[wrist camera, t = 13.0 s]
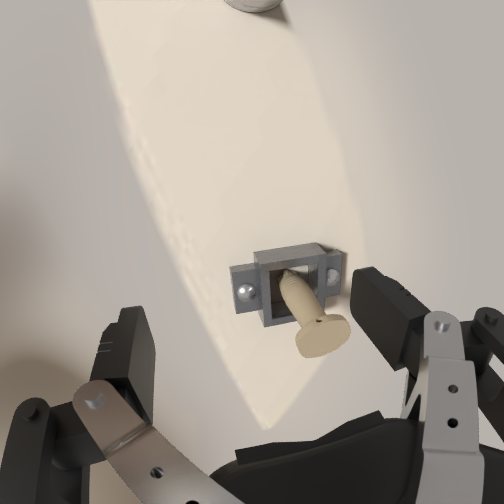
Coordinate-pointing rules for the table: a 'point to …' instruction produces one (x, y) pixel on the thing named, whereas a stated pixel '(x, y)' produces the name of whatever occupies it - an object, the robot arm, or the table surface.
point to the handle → (312, 318)
